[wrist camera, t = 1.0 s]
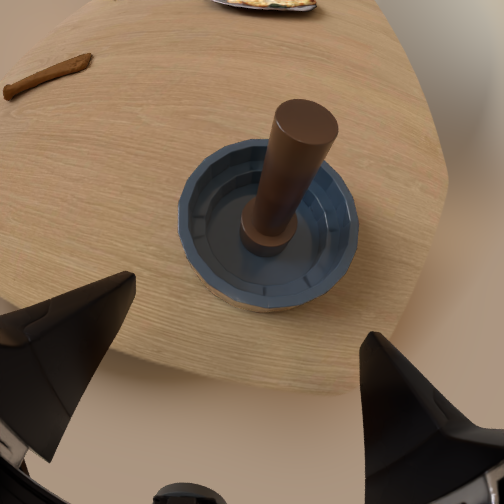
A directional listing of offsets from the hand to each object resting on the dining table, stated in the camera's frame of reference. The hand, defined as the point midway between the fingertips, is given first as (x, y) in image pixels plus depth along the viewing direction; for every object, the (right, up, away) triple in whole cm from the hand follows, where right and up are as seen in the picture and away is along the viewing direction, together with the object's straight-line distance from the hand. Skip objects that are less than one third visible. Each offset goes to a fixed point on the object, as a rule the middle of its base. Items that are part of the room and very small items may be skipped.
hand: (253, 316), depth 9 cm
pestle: (+1, +4, +14) cm, 15 cm away
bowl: (+1, +4, +15) cm, 15 cm away
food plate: (+2, +59, +31) cm, 66 cm away
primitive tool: (-37, +33, +20) cm, 53 cm away
